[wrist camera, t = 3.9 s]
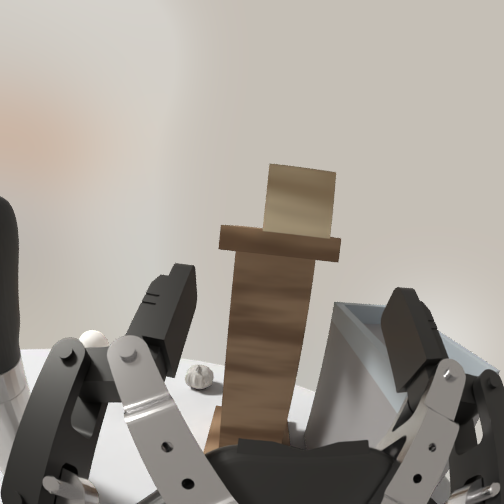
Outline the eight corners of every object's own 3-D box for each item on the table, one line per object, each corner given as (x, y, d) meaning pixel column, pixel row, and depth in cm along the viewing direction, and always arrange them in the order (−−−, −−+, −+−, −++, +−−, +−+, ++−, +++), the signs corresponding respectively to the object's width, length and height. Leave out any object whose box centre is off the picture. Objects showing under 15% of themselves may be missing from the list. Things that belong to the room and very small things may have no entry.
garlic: (196, 396, 48) (197, 374, 47) (179, 384, 51) (179, 362, 51) (219, 387, 53) (220, 365, 52) (201, 376, 56) (202, 355, 55)
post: (291, 498, 25) (356, 240, 22) (195, 489, 25) (206, 223, 22) (284, 421, 43) (315, 234, 40) (215, 414, 43) (231, 225, 40)
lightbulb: (94, 371, 48) (89, 322, 47) (117, 379, 48) (114, 330, 47) (77, 383, 42) (70, 332, 41) (102, 393, 42) (96, 341, 41)
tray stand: (399, 529, 17) (499, 370, 14) (321, 543, 17) (409, 384, 15) (360, 434, 38) (398, 306, 36) (303, 435, 39) (334, 301, 37)
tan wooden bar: (329, 238, 13) (335, 172, 13) (262, 230, 13) (269, 163, 13) (286, 231, 39) (288, 207, 39) (262, 228, 39) (265, 205, 39)
